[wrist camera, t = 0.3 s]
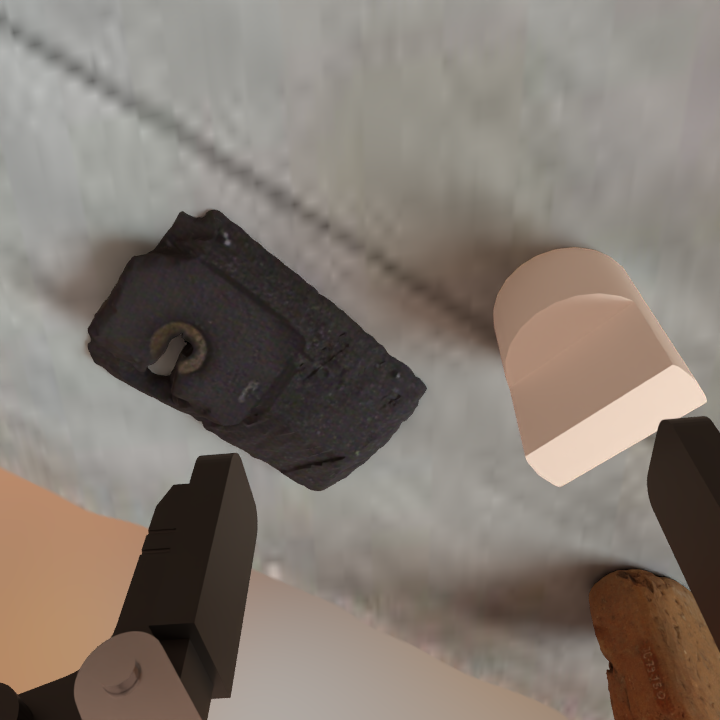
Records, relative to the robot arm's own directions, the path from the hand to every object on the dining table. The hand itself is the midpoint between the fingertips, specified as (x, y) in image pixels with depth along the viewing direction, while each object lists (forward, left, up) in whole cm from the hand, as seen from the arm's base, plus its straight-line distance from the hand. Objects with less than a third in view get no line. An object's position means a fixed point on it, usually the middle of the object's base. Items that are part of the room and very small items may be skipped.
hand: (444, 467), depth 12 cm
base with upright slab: (+13, +9, -28) cm, 32 cm away
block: (+43, +18, -28) cm, 54 cm away
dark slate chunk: (+16, -12, -29) cm, 35 cm away
